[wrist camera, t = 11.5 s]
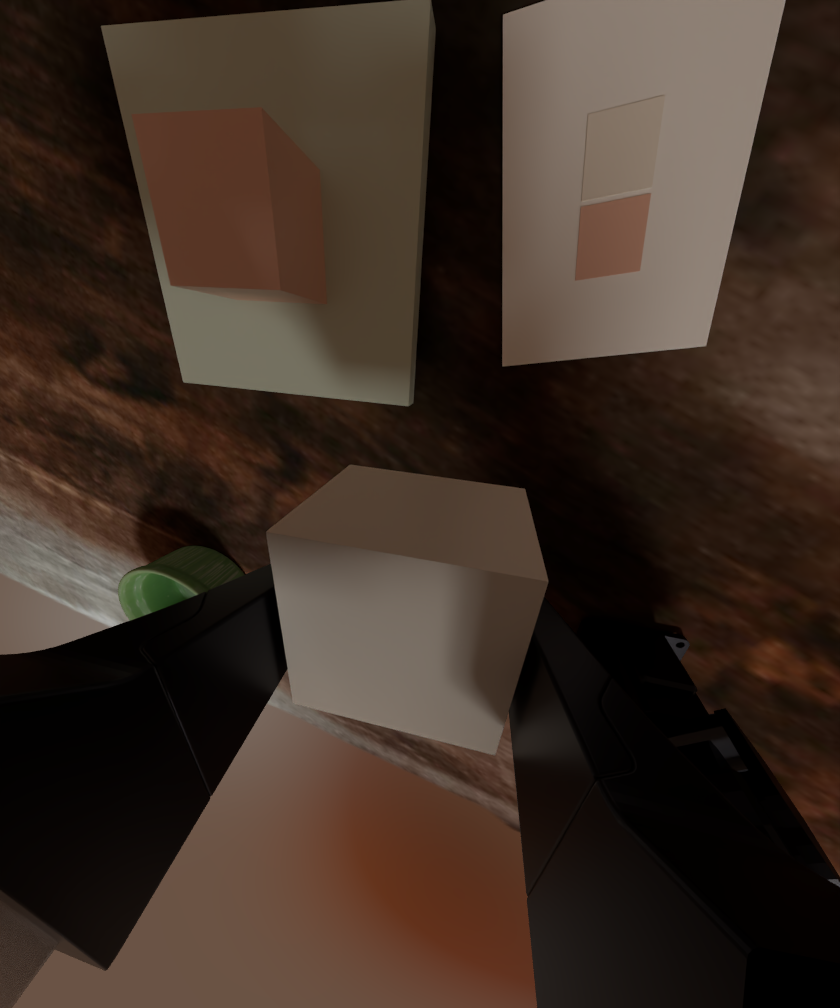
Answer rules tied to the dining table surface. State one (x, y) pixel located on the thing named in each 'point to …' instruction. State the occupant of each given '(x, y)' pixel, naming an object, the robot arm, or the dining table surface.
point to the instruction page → (624, 168)
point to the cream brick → (409, 601)
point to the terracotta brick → (234, 205)
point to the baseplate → (343, 175)
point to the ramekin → (174, 579)
